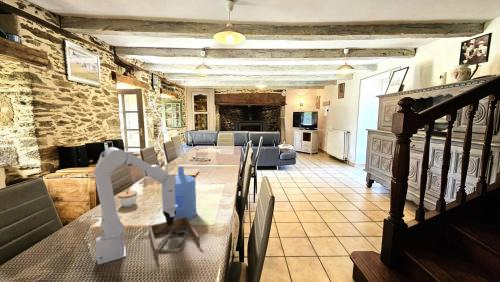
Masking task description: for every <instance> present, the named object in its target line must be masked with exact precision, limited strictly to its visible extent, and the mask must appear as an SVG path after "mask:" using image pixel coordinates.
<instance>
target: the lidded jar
mask: <svg viewBox="0 0 500 282" xmlns="http://www.w3.org/2000/svg"><path fill="white" fill-rule="evenodd" d="M117 199H118V203H119V204H120V206H122V207H123V208H129V207H133V206H134V204H135V203H136V202H137V200H138V192H137V190H125V191H122V192H119V193H118V194H117Z"/></svg>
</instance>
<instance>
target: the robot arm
mask: <svg viewBox="0 0 500 282" xmlns="http://www.w3.org/2000/svg"><path fill="white" fill-rule="evenodd" d="M124 164H125V165H130V164H131V165H133V166H135V167H137V168H139V169H141V170H143V171H145V172H146V176H147V177H149V178H151V179H153V180H155V181H156V182H158V183H159V184H161V200H162V201H161V204H162V209H161V210H162V213H163V216H164V217H165V220H166V221H165V222H167V225H168V226H171V225H173V220H174V216H175V214H176V211H175V209H176V208H177V207H178V205H175V188H174V186H175V184H176V181H177V179H176V178H175V176H176V175H174V174H171V173H169V171H168V170H165V169H163V168H161V165H159V164H151V165H150V164H149V163H148V162H146V161H144V160H142V159H141V158H139V157H137V156H136V155H134V154H132V153H130V152H127V151H125V150H123V149H119V148H118V147H115V146H114V147H113V146H110V147H107V148H106V149H105V150H104V151H102V152H101V153H100V155H99V158H98V160H97V163H96V165H95V167H94V169H93V175H94V179H95V185H96V189H97V195H98V198H99V204H100V208H101V213H102V214H101V218H102V219H101V222H100V228H101V229H102V230H103V233H102V234H101V236H99V237H96V238H95V239H96V240H95V245H96V246H95V248H96V249H95V250H96V253H95V254H96V260H97V265H103V264H106V263H109V262H111V261H112V262H113V261H115V260H119V259H123V258H126V257H127V256H126V255H127V252H126V246H125V242H124V239H125V238H124V230H125V225H124V224H123V222H121V219H120V216H119V213H118V211H117V206H116V199H115V196H114V195H115V194H114V190H113V185H112V180H111V179H112V178H111V174H112V173H113V171H114V170H115V169H117V168H119V167H121V166H122V165H124Z"/></svg>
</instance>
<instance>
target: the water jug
mask: <svg viewBox="0 0 500 282" xmlns="http://www.w3.org/2000/svg"><path fill="white" fill-rule="evenodd" d="M184 168H185V167H184V166H178V167H177V174H176V175H174V176H175V178H176V179H177V181H176V184H175V186H174V188H175V205H178V207H177V208H176V209H175V211H176V214H175V216H174V220H175V219H179V218H183V217H187V218H188V220H191V219H192V218H194V217H195V216H196V215H197V192H196V186H197V185H196V183H197V182H196V178H195V177H194V176H191V175H188V174H185V172H184V171H185V170H184Z"/></svg>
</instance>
